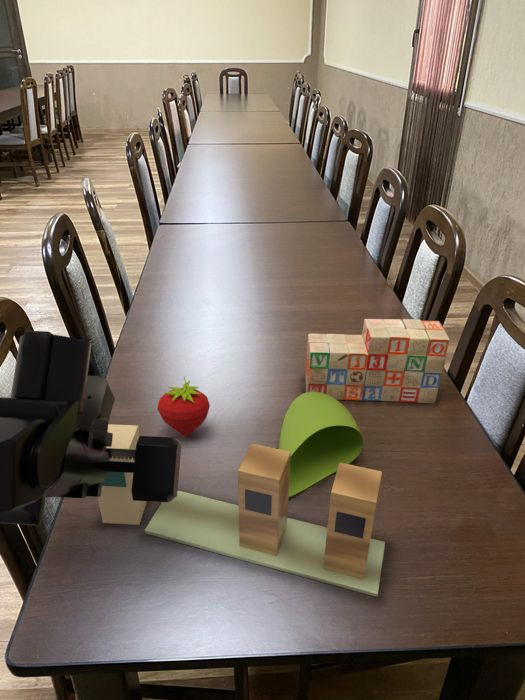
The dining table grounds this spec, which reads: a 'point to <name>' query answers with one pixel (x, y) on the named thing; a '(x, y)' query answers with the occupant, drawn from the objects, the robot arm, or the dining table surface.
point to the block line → (284, 524)
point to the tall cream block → (121, 482)
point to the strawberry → (184, 408)
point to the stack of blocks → (379, 361)
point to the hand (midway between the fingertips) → (110, 467)
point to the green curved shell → (317, 439)
